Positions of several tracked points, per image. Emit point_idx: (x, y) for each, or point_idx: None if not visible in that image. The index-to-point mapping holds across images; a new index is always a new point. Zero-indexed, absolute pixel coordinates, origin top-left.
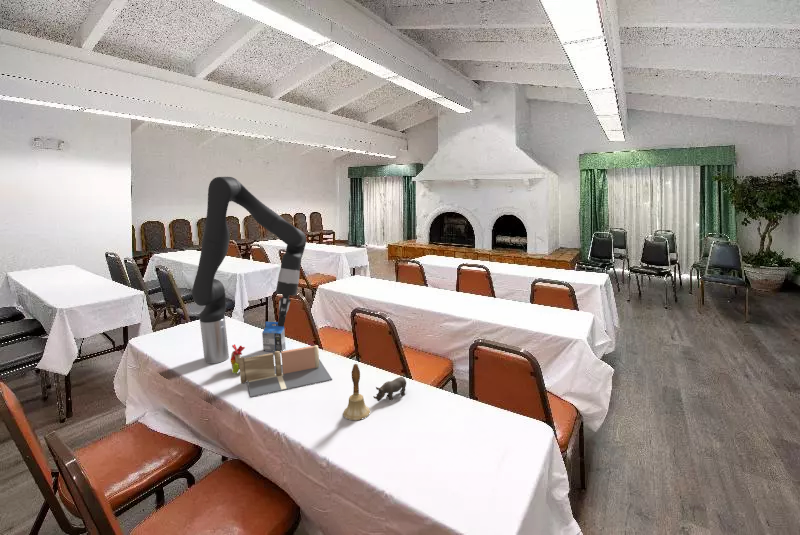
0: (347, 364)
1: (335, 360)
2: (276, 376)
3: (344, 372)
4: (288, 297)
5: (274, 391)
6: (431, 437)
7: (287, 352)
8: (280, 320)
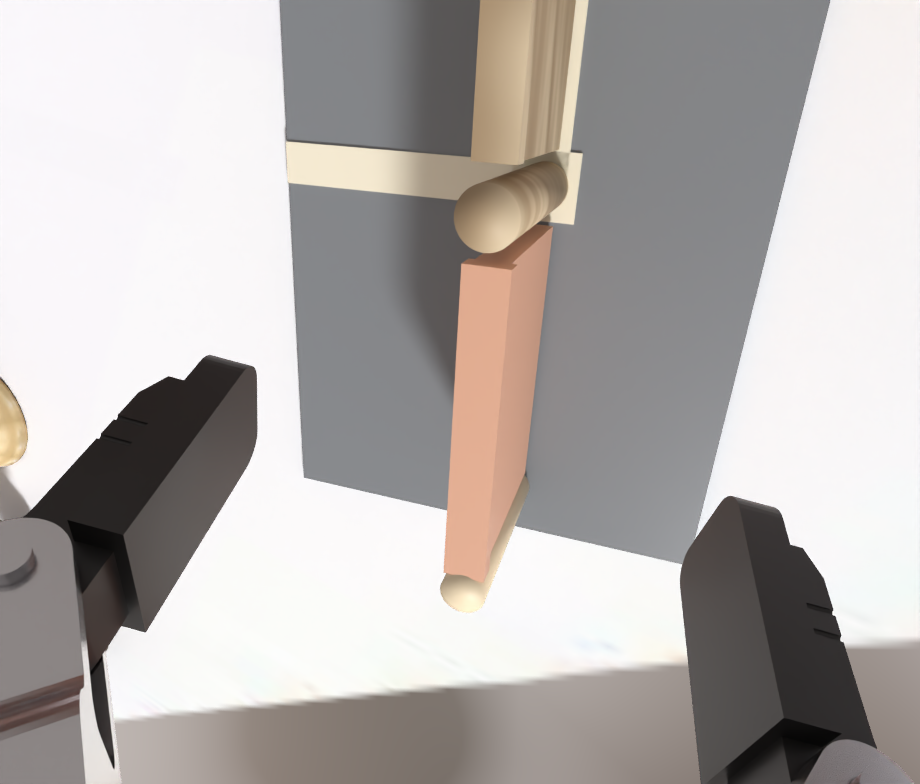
0: (470, 639)
1: (576, 624)
2: None
3: (372, 571)
4: None
5: (285, 84)
6: None
7: (459, 324)
8: (100, 458)
